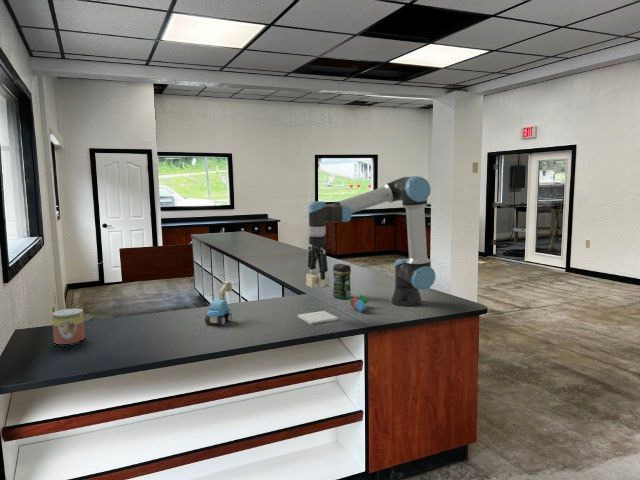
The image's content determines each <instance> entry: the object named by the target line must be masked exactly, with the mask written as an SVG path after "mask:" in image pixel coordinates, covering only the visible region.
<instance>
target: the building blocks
mask: <svg viewBox="0 0 640 480" xmlns="http://www.w3.org/2000/svg"><path fill="white" fill-rule="evenodd" d="M367 303H368V300H367V298H366V297H365V296H364V295H363V294H360V295H359V296H358V297H357V296H355V297H353V298H349V305H350V307H352V309H354V310H357V311H358V312H359V313H362V312H363V311H364V310H366V308H367Z"/></svg>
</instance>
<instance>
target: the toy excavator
mask: <svg viewBox="0 0 640 480" xmlns="http://www.w3.org/2000/svg"><path fill="white" fill-rule="evenodd" d="M232 289H233V286H232V283H231V282H230V281H222V287H221V288H220V291H219V299H214V300H213V299H212V300H211V302H210V304H209V310H207V314H206V315H205V317H204V323H205V324H206V325H211V324H217V325H218V326H223V325H225V324H226V322H227V323H228V322H229V323H231V321H232V320H233V319H232V318H233V317H232V316H233V315H232V313H231V311H232V310H231V307H230V306H228V301H227V300H225V299H226V297H225V293H226V292H232Z"/></svg>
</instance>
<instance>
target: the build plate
mask: <svg viewBox="0 0 640 480" xmlns="http://www.w3.org/2000/svg"><path fill="white" fill-rule="evenodd" d="M297 318H299V319H301V320H303V321H304V322H306V323H308V324H309V325H315V324H320V323H326V322H327V323H328V322H333V321H339V317H338V316H336V315H333V314H331V313H330V312H327V311H325V310H320V311H314V312H307V313H301V314H297Z"/></svg>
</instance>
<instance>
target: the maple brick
mask: <svg viewBox="0 0 640 480" xmlns="http://www.w3.org/2000/svg"><path fill="white" fill-rule="evenodd" d="M305 275H306V276H305V282H306V283H305V285H306V286H308V287H310V288H312V289H317V288H318V289H319V288H321V287H319V272H318V273H317V272H316V273H314V274H310V273H306V274H305ZM329 281H330V277H329V275H327V274H326V273H325V286H324V287H323V288H328V287H329V286H330V282H329Z"/></svg>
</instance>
